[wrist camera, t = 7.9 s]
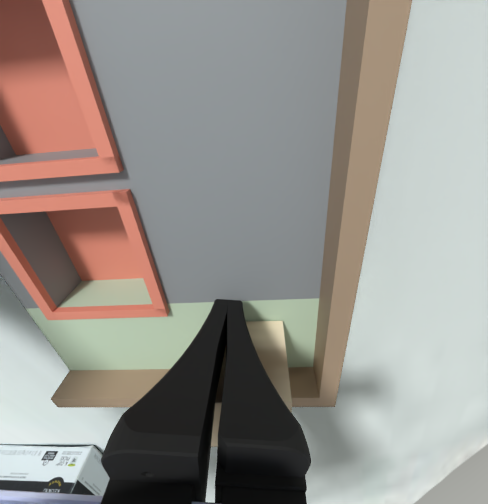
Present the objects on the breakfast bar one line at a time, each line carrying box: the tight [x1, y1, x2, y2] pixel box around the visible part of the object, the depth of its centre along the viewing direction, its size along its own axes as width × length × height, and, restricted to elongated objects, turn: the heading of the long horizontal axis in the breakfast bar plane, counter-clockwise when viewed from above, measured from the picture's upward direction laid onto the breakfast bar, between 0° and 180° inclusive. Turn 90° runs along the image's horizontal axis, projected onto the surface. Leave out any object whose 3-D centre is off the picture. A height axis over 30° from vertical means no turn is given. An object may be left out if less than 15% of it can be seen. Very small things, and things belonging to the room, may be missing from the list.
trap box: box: [0, 0, 412, 407], centre depth 12 cm, size 18×24×5 cm
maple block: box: [211, 321, 292, 447], centre depth 14 cm, size 4×4×4 cm
